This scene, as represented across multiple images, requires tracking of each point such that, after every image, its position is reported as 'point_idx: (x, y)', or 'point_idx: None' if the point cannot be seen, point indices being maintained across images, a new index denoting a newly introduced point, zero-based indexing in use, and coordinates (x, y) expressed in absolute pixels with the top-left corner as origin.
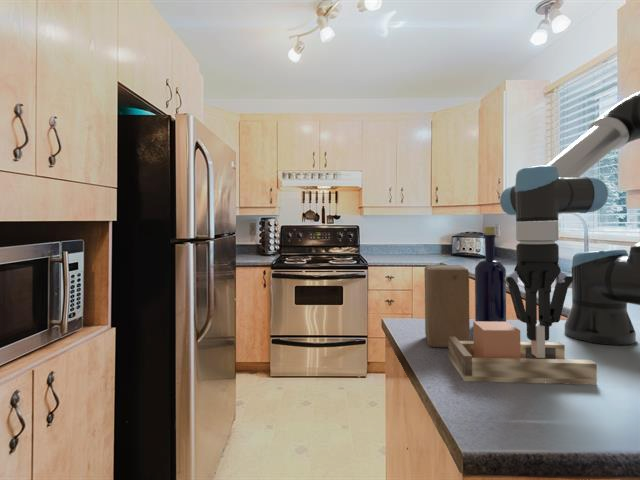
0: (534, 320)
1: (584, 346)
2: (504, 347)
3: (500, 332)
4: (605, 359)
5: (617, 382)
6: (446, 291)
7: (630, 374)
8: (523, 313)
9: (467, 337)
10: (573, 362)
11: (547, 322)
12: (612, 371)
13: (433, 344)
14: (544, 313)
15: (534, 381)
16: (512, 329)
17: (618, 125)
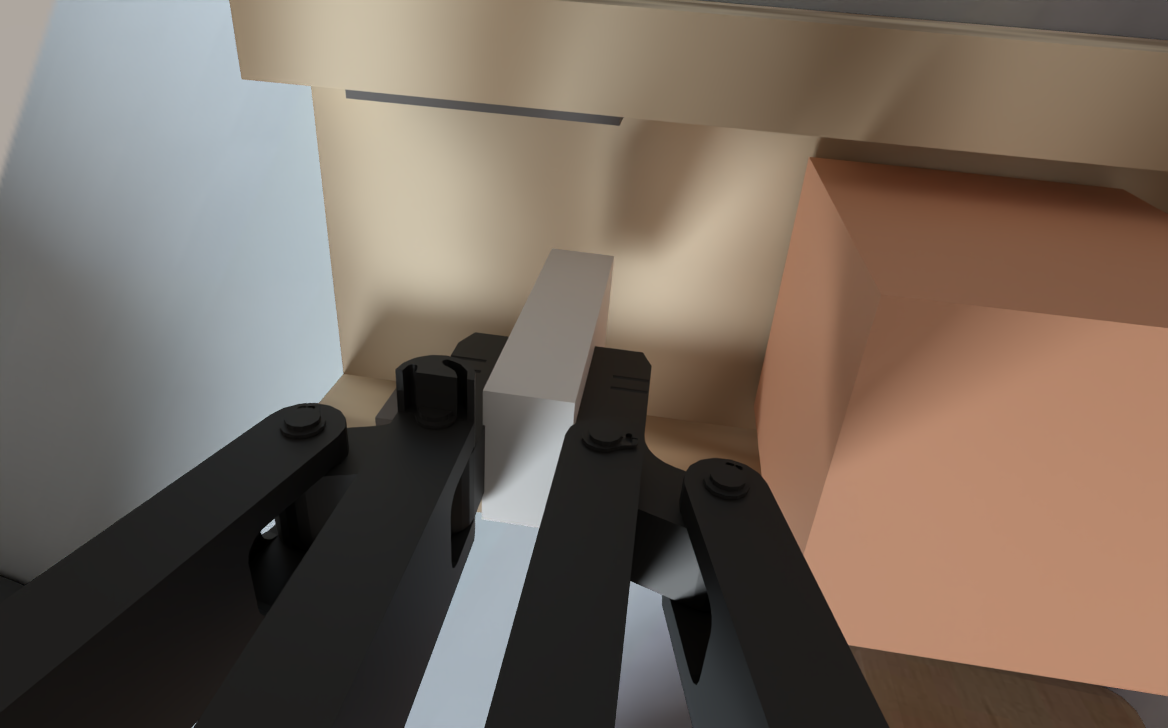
0: (590, 458)
1: None
2: (1015, 235)
3: (1151, 314)
4: (91, 394)
5: (159, 15)
6: None
7: (30, 155)
8: (744, 551)
9: (883, 699)
10: (415, 8)
11: (434, 414)
12: (119, 210)
13: (1108, 697)
14: (428, 503)
15: (774, 7)
16: (955, 350)
17: None
